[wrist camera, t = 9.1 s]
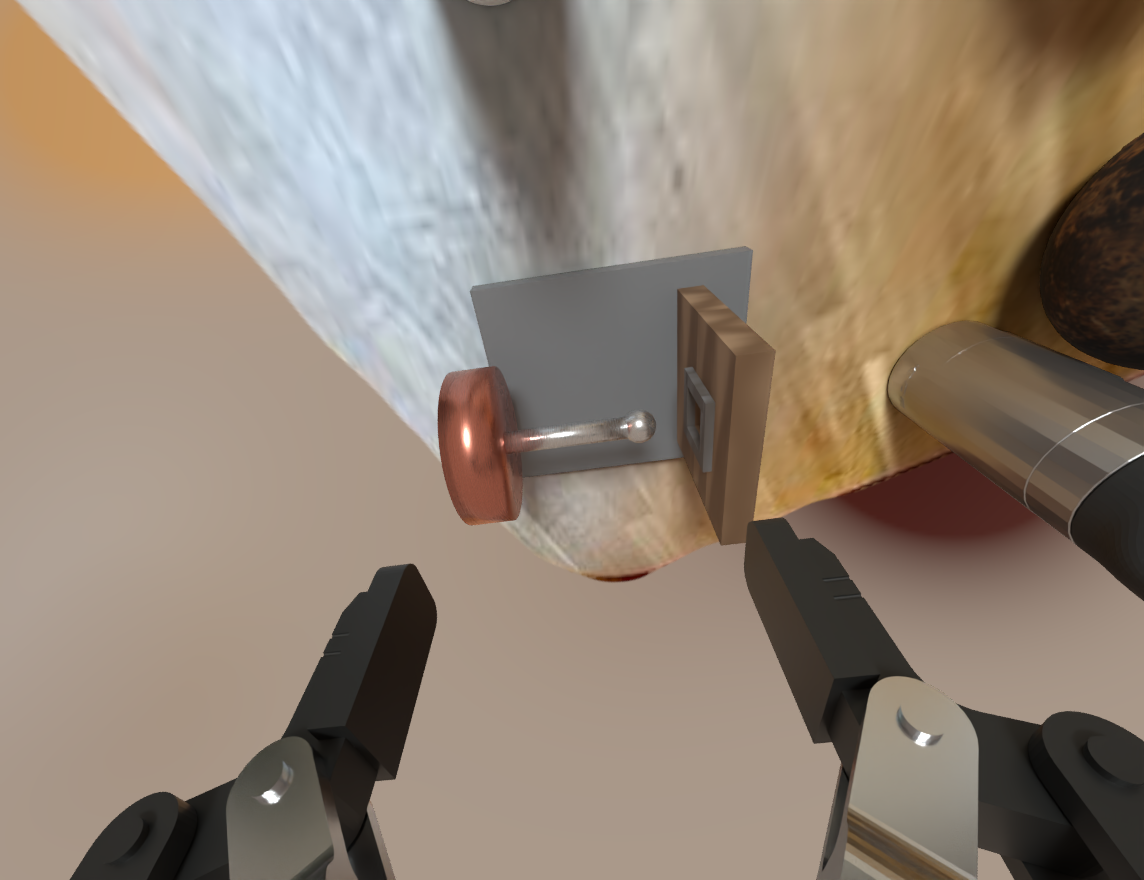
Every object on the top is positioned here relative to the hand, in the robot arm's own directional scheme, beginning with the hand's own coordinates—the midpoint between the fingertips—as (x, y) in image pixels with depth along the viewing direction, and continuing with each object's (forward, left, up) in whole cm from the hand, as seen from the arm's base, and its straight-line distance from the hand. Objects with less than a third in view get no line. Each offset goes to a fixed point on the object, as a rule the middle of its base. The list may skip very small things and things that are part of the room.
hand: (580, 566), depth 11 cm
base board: (-4, +8, -28) cm, 30 cm away
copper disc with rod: (+2, +8, -25) cm, 26 cm away
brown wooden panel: (-9, +8, -27) cm, 30 cm away
